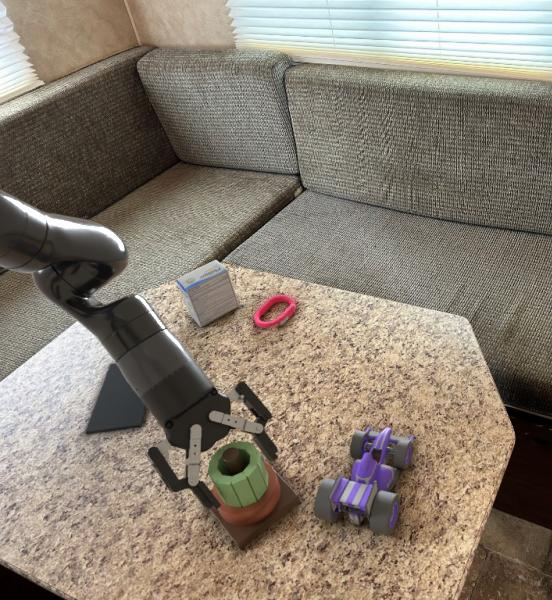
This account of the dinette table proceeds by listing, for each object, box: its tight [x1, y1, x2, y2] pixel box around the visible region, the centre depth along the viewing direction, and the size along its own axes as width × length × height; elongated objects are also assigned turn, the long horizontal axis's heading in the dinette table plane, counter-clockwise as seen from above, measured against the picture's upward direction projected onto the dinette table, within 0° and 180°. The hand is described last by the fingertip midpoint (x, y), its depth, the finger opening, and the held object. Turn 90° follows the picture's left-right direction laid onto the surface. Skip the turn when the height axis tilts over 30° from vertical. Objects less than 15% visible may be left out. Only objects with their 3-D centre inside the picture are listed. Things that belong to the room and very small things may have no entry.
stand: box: [208, 447, 301, 551], centre depth 75 cm, size 9×9×10 cm
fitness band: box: [253, 294, 297, 329], centre depth 106 cm, size 8×6×2 cm
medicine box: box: [175, 259, 241, 328], centre depth 106 cm, size 8×4×9 cm, turn 130°
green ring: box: [207, 440, 268, 508], centre depth 74 cm, size 6×6×5 cm
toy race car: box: [313, 426, 415, 537], centre depth 77 cm, size 10×15×6 cm, turn 162°
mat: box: [85, 362, 147, 435], centre depth 95 cm, size 14×8×1 cm, turn 5°
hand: (246, 482), depth 74 cm, fingers open, 8 cm apart
